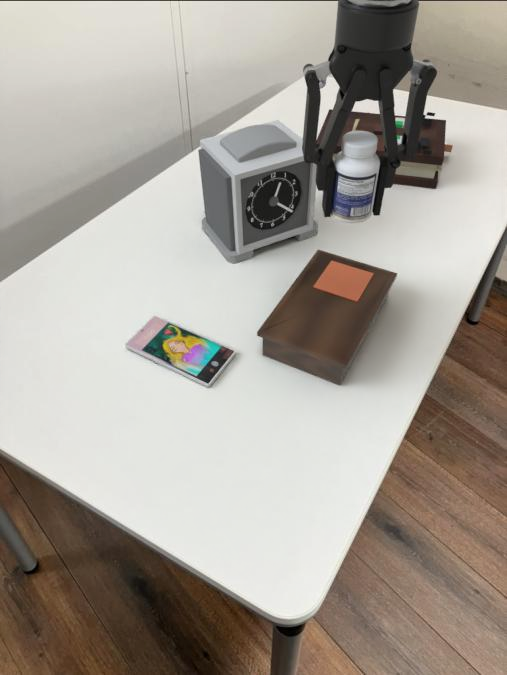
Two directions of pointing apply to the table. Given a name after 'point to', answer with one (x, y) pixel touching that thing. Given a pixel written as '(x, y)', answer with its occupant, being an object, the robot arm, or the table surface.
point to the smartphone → (181, 350)
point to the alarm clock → (256, 189)
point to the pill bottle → (355, 177)
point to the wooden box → (326, 315)
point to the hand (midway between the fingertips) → (350, 209)
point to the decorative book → (428, 151)
